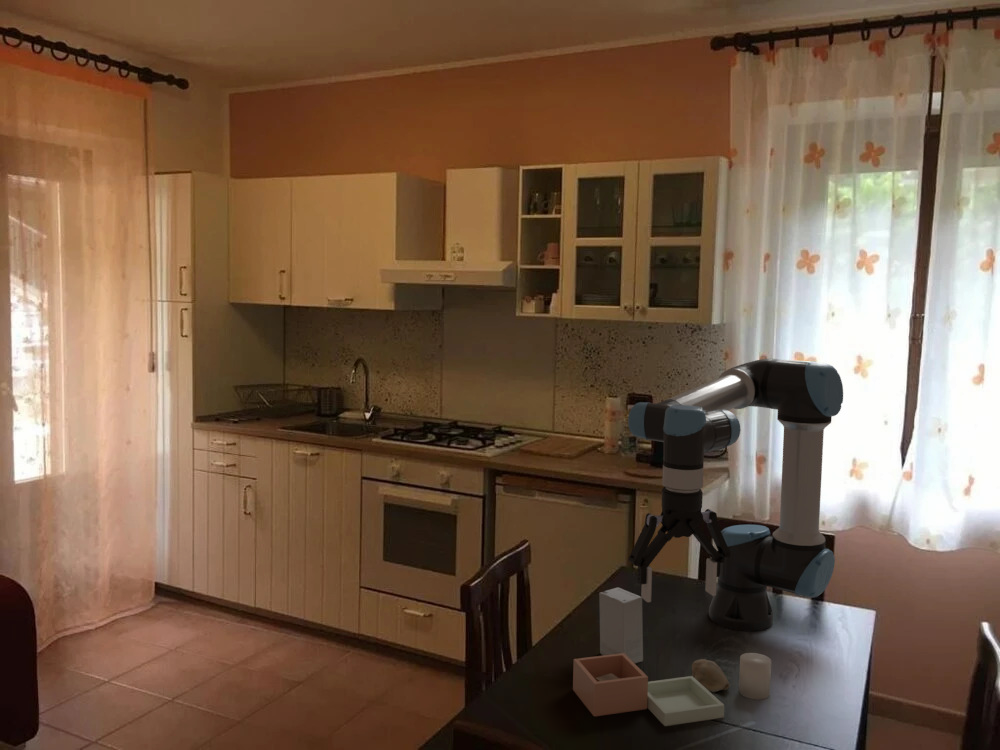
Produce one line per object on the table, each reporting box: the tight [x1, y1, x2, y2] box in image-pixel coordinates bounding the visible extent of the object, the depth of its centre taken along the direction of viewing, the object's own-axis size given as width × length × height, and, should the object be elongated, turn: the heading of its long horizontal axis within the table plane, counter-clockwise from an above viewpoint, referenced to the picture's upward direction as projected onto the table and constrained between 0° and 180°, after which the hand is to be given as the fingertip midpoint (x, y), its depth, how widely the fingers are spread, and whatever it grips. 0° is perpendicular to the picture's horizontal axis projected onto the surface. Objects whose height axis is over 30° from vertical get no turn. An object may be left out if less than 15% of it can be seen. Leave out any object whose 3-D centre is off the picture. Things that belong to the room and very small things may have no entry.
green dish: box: [647, 675, 725, 727], centre depth 167 cm, size 12×12×3 cm
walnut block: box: [595, 673, 620, 682], centre depth 169 cm, size 4×4×4 cm
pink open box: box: [572, 653, 649, 718], centre depth 169 cm, size 11×11×7 cm
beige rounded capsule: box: [738, 652, 772, 701], centre depth 173 cm, size 6×6×7 cm
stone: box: [691, 658, 730, 693], centre depth 177 cm, size 7×6×8 cm
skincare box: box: [598, 587, 644, 664], centre depth 187 cm, size 8×6×15 cm
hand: (678, 596), depth 165 cm, fingers open, 13 cm apart
